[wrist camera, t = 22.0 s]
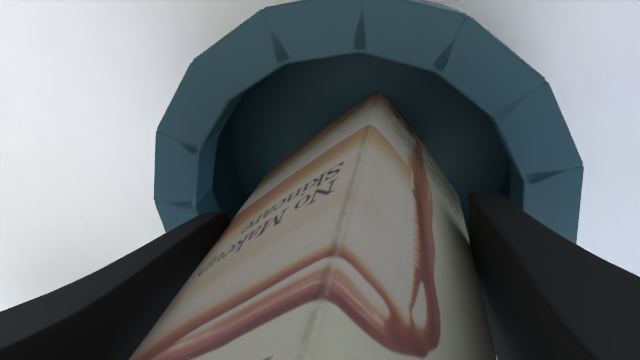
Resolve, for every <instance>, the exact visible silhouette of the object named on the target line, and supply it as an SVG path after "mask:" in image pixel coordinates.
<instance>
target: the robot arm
mask: <svg viewBox="0 0 640 360" xmlns="http://www.w3.org/2000/svg"><path fill="white" fill-rule="evenodd" d="M468 199H469V236H470V247H471V251H472V255H473V260H474V264H475V268H476V272H477V276H478V281H479V285H480V289H481V293H482V298H483V302H484V306H485V310H486V315H487V319H488V324H489V328H490V333H491V337H492V342H493V346H494V350H495V354H496V357H497V360H640V277H639V276H637V275H635V274H633V273H630V272H628V271H626V270H624V269H622V268H620V267H618V266H616V265H614V264H612V263H609V262H607V261H605V260H604V259H602V258H600V257H598V256H596V255H594V254H592V253H590V252H588V251H587V250H585V249H583V248H581V247H580V246H578V245H576V244H575V243H573V242H571V241H569V240H568V239H566V238H564V237H563V236H561V235H559V234H558V233H556V232H554V231H553V230H551V229H550V228H548V227H547V226H545V225H544V224H542V223H541V222H539V221H538V220H536V219H535V218H533V217H532V216H530V215H529V214H527V213H526V212H525V211H523V210H522V209H520V208H519V207H517V206H516V205H515V204H513V203H512V202H510V201H509V200H508V199H506V198H505V197H504V196H502V195H501V194H499V193H498V192H496V191H493V192H479V193H468ZM230 223H231V222H230V219H229V216H228V212H227V211H214V212H206V213H203V214H201V215H198V216H196V217H194V218H192V219H190V220H188V221H186V222H185V223H183V224H181V225H179V226H177V227H176V228H174V229H172V230H170V231H169V232H167V233H165V234H163V235H162V236H160V237H158V238H156V239H155V240H153V241H151V242H149V243H148V244H146V245H144V246H142V247H141V248H139V249H137V250H135V251H133V252H131V253H130V254H128V255H126V256H124V257H122V258H120V259H118V260H117V261H115V262H113V263H111V264H109V265H107V266H106V267H104V268H102V269H100V270H98V271H96V272H94V273H92V274H90V275H88V276H85V277H83V278H81V279H79V280H77V281H75V282H73V283H70V284H68V285H66V286H64V287H61V288H59V289H57V290H55V291H52V292H50V293H48V294H45V295H42V296H40V297H37V298H35V299H32V300H30V301H27V302H25V303H22V304H19V305H17V306H14V307H12V308H9V309H7V310H4V311H1V312H0V360H129V359H130V357H131V356H132V354H133V353H134V352H135V350H136V349H137V348H138V346H139V345H140V343H141V342H142V341H143V340H144V338H145V337H146V336H147V334H148V333H149V332H150V330H151V329H152V328H153V326H154V325H155V324H156V322H157V321H158V320H159V318H160V317H161V316H162V314H163V313H164V311H165V310H166V309H167V307H168V306H169V304H170V303H171V302H172V300H173V299H174V298H175V296H176V295H177V294H178V292H179V291H180V290H181V288H182V287H183V286H184V284H185V283H186V282H187V280H188V279H189V278H190V276H191V275H192V274H193V272H194V271H195V270H196V268H197V267H198V266H199V265H200V263H201V262H202V261H203V259H204V258H205V257H206V255H207V254H208V253H209V251H210V250H211V249H212V247H213V246H214V245H215V243H216V242H217V241H218V239H219V238H220V237H221V235H222V234H223V233H224V231H225V230H226V228H227V227H228V226H229V224H230Z"/></svg>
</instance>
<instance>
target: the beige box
mask: <svg viewBox="0 0 640 360" xmlns="http://www.w3.org/2000/svg"><path fill="white" fill-rule="evenodd" d="M129 360H497V359H496V354H495V350H494V346H493V342H492V337H491V333H490V328H489V324H488V319H487V315H486V310H485V306H484V302H483V298H482V293H481V289H480V285H479V281H478V276H477V272H476V268H475V264H474V260H473V255H472V251H471V247H470V242H469V237H468V233H467V229H466V225H465V220H464V215H463V212H462V208H461V203H460V199H459V196H458V193H457V192H456V190H455V189H454V188H453V186H452V185H451V183H450V182H449V180H448V179H447V177H446V176H445V174H444V173H443V171H442V170H441V169H440V167H439V166H438V164H437V163H436V162H435V160H434V159H433V157H432V156H431V154H430V153H429V152H428V150H427V149H426V147H425V146H424V145H423V143H422V142H421V141H420V139H419V138H418V137H417V135H416V134H415V133H414V131H413V130H412V129H411V127H410V126H409V125H408V123H407V122H406V121H405V120H404V118H403V117H402V116H401V115H400V113H399V112H398V111H397V110H396V108H395V107H394V106H393V105H392V103H391V102H390V101H389V100H388V98H387V97H386V96H385V95H384V94H383V93H382V92H376V93H374V94H372V95H371V96H369V97H368V98H366V99H365V100H363V101H362V102H360V103H359V104H357V105H356V106H354V107H353V108H352V109H350V110H349V111H347V112H346V113H345V114H343V115H342V116H341V117H339V118H338V119H336V120H335V121H334V122H332V123H331V124H329V125H328V126H327V127H325V128H324V129H323V130H321V131H320V132H319V133H317V134H316V135H315V136H313V137H312V138H311V139H309V140H308V141H307V142H306V143H304V144H303V145H302V146H300V147H299V148H298V149H297V150H295V151H294V152H293V153H291V154H290V155H289V156H288V157H286V158H285V159H284V160H283V161H281V162H280V163H279V164H278V165H277V166H276V167H274V168H273V169H272V170H271V171H270V172H269V173H268V174H267V175H266V176H265V177H264V179H263V180H262V181H261V183H260V184H259V185H258V187H257V188H256V189H255V191H254V192H253V193H252V194H251V196H250V197H249V198H248V200H247V201H246V202H245V204H244V205H243V206H242V208H241V209H240V210H239V212H238V213H237V214H236V216H235V217H234V218H233V220H232V221H231V223H230V224H229V226H228V227H227V228H226V230H225V231H224V233H223V234H222V235H221V237H220V238H219V239H218V241H217V242H216V243H215V245H214V246H213V247H212V249H211V250H210V251H209V253H208V254H207V255H206V257H205V258H204V259H203V261H202V262H201V263H200V265H199V266H198V267H197V268H196V270H195V271H194V272H193V274H192V275H191V276H190V278H189V279H188V280H187V282H186V283H185V284H184V286H183V287H182V288H181V290H180V291H179V292H178V294H177V295H176V296H175V298H174V299H173V300H172V302H171V303H170V304H169V306H168V307H167V309H166V310H165V311H164V313H163V314H162V316H161V317H160V318H159V320H158V321H157V322H156V324H155V325H154V326H153V328H152V329H151V330H150V332H149V333H148V334H147V336H146V337H145V338H144V340H143V341H142V342H141V343H140V345H139V346H138V348H137V349H136V350H135V352H134V353H133V354H132V356H131V357H130V359H129Z"/></svg>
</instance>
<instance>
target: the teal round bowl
mask: <svg viewBox="0 0 640 360" xmlns="http://www.w3.org/2000/svg"><path fill="white" fill-rule="evenodd" d="M376 92H382V93H383V94H384V95H385V96H386V97H387V98H388V100H389V101H390V102H391V103H392V105H393V106H394V107H395V108H396V110H397V111H398V112H399V113H400V115H401V116H402V117H403V118H404V120H405V121H406V122H407V123H408V125H409V126H410V127H411V129H412V130H413V131H414V133H415V134H416V135H417V137H418V138H419V139H420V141H421V142H422V143H423V145H424V146H425V147H426V149H427V150H428V152H429V153H430V154H431V156H432V157H433V159H434V160H435V162H436V163H437V164H438V166H439V167H440V169H441V170H442V171H443V173H444V174H445V176H446V177H447V179H448V180H449V182H450V183H451V185H452V186H453V188H454V189H455V190H456V192H457V193H458V196H459V199H460V203H461V208H462V212H463V215H464V220H465V225H466V229H467V233H468V237H469V242H470V236H469V199H468V193H479V192H493V191H496V192H498V193H499V194H501V195H502V196H504V197H505V198H506V199H508V200H509V201H510V202H512V203H513V204H515V205H516V206H517V207H519V208H520V209H522V210H523V211H525V212H526V213H527V214H529V215H530V216H532V217H533V218H535V219H536V220H538V221H539V222H541V223H542V224H544V225H545V226H547V227H548V228H550V229H551V230H553V231H554V232H556V233H558V234H559V235H561V236H563V237H564V238H566V239H568V240H569V241H571V242H573V243H575V244H576V240H577V230H578V220H579V210H580V200H581V190H582V179H583V169H584V167H583V165H582V163H583V162H582V160H581V158H580V155H579V153H578V151H577V148H576V146H575V144H574V141H573V139H572V136H571V134H570V132H569V129H568V127H567V125H566V122H565V120H564V118H563V115H562V113H561V111H560V108H559V106H558V104H557V101H556V99H555V96H554V94H553V92H552V89H551V87H550V85H549V83H548V82H547V81H545V78H544V77H543V76H542V75H541V74H539V73H538V72H537V71H536V70H535V69H533V68H532V67H531V66H530V65H529V64H527V63H526V62H525V61H524V60H522V59H521V58H520V57H519V56H518V55H516V54H515V53H514V52H513V51H512V50H510V49H509V48H508V47H507V46H505V45H504V44H503V43H502V42H501V41H499V40H498V39H497V38H496V37H495V36H493V35H492V34H491V33H490V32H488V31H487V30H486V29H485V28H484V27H482V26H481V25H480V24H479V23H478V22H476V21H475V20H474V19H473V18H471V17H470V16H467V15H465V14H464V13H462V12H459V11H457V10H454V9H452V8H449V7H447V6H444V5H441V4H437V3H433V2H429V1H425V0H301V1H295V2H290V3H285V4H280V5H275V6H269V7H265V8H264V9H261V10H260V11H258V12H257V13H256V14H254V15H253V16H251V17H250V18H249V19H247V20H246V21H245V22H243V23H242V24H241V25H239V26H238V27H237V28H235V29H234V30H233V31H231V32H230V33H228V34H227V35H226V36H224V37H223V38H222V39H220V40H219V41H218V42H216V43H215V44H214V45H212V46H211V47H210V48H208V49H207V50H206V51H204V52H203V53H201V54H200V55H199V56H197V57H196V58H195V59H194V60H193V62H192V63H190V65H189V67H188V69H187V71H186V73H185V75H184V77H183V79H182V81H181V83H180V85H179V87H178V89H177V91H176V93H175V95H174V97H173V98H172V100H171V102H170V104H169V106H168V108H167V110H166V112H165V114H164V116H163V118H162V120H161V122H160V124H159V126H158V128H157V132H156V146H155V179H154V200H155V205H156V207H157V210H158V213H159V215H160V218H161V220H162V223H163V226H164V228H165V231H166V233H167V232H169V231H170V230H172V229H174V228H176V227H177V226H179V225H181V224H183V223H185V222H186V221H188V220H190V219H192V218H194V217H196V216H198V215H201V214H203V213H206V212H214V211H227V212H228V216H229V219H230V222H231V221H232V220H233V218H234V217H235V216H236V214H237V213H238V212H239V210H240V209H241V208H242V206H243V205H244V204H245V202H246V201H247V200H248V198H249V197H250V196H251V194H252V193H253V192H254V191H255V189H256V188H257V187H258V185H259V184H260V183H261V181H262V180H263V179H264V177H265V176H266V175H267V174H268V173H269V172H270V171H271V170H272V169H273V168H274V167H276V166H277V165H278V164H279V163H280V162H281V161H283V160H284V159H285V158H286V157H288V156H289V155H290V154H291V153H293V152H294V151H295V150H297V149H298V148H299V147H300V146H302V145H303V144H304V143H306V142H307V141H308V140H309V139H311V138H312V137H313V136H315V135H316V134H317V133H319V132H320V131H321V130H323V129H324V128H325V127H327V126H328V125H329V124H331V123H332V122H334V121H335V120H336V119H338V118H339V117H341V116H342V115H343V114H345V113H346V112H347V111H349V110H350V109H352V108H353V107H354V106H356V105H357V104H359V103H360V102H362V101H363V100H365V99H366V98H368V97H369V96H371V95H372V94H374V93H376Z"/></svg>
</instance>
